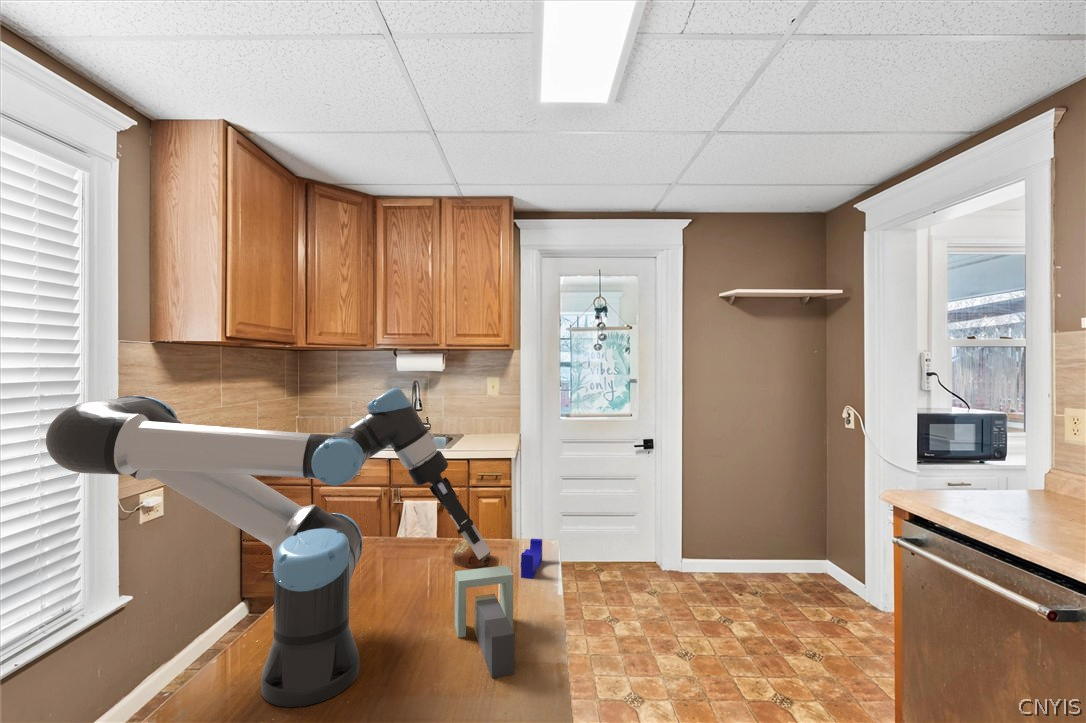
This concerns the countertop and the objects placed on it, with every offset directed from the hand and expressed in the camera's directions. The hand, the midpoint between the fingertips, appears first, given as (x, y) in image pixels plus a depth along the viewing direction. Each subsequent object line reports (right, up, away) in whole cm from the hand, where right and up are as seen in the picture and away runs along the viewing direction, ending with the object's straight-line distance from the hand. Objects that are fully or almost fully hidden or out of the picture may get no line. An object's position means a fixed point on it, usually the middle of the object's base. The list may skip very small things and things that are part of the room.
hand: (477, 545), depth 106 cm
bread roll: (-5, -16, +32) cm, 37 cm away
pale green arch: (+1, -16, -2) cm, 16 cm away
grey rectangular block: (+4, -16, -11) cm, 20 cm away
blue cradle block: (+10, -16, +28) cm, 34 cm away
